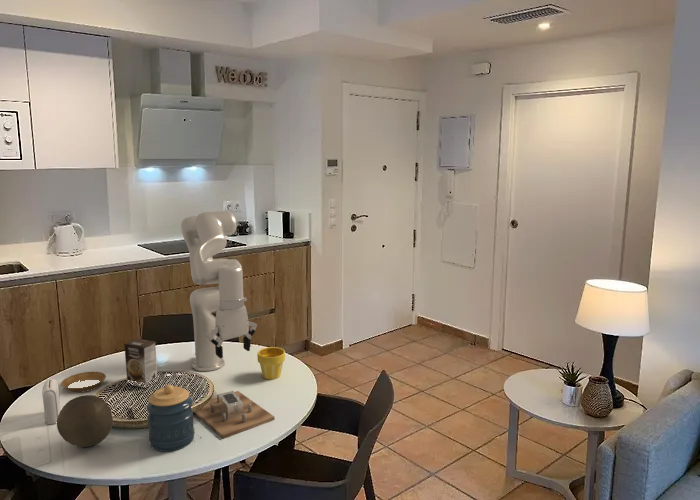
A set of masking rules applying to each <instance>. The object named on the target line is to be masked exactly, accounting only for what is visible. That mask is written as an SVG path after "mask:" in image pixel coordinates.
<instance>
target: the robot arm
mask: <svg viewBox="0 0 700 500" xmlns="http://www.w3.org/2000/svg"><path fill="white" fill-rule="evenodd" d="M237 224H238V223H237V219H236V217H235V215H234V214H233V212H231V211H228V210H218V211H214V210H213V211H205V212H201V213H199V214H197V215H192V216H188V217H185V218H183V219H182V221H181V224H180V228H181V234H182V237H183V240H184V241H185V244H186V246H187V249H188V253H189V264H190V265H189V266H190V274H191V278H192V282H193V284H194V285H199V286H200V285H201V286H202V285H215V284H218V286H212V287H211V286H208V287H202V288H198V289H195V290H193V291H192V292H191V293H190V295H189V304H190V309H191V314H192V320H193V333H194V334H193V335H194V336H193V337H194V355H195V360H194V361H193V362H192V363H191V367H192V369H193V370H195V371H199V372H212V371H216V370H219V369H221V368H222V367H224V365H225V364H226V362H225V359H224V354H223V353H224V352H223V346H222V345H223V343H224V341H227V340H232V339H235V338H240V337H243V339H242V342H243V346H242V347H243V350H245V351H247V352H251V351H250V350H251V346H252V345H251V340H252V338H253V335H254V334H255V332H256V330H257V327H258V324H257V323H256V322H252V321H249V316H248V311H247V307H246V305H245V302H247V301H248V298H247V296H244V278H243V277H244V273H243V267H242V264H241V263H240V261H239V260H237V259H232V258H230V259H228V258H213V256H215V255H218V254H219V253H221V252H222V251H224V250H225V248H226V246H227V244H228V242H227V237H226V236H230V235H232V234H234V233H235V232H236V231H237ZM214 312H216V313H215V315H214V314H213V313H214ZM249 328H250V329H249Z"/></svg>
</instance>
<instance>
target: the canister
mask: <svg viewBox="0 0 700 500" xmlns="http://www.w3.org/2000/svg"><path fill="white" fill-rule="evenodd" d="M148 401H149V402H147V403H148V404H147V406H146V409H147V411H148V412H149V414H148V416H146V420H147V423H148V425H147V426H148V427H147V428H148V442H149V446H150V447H151V448H152V449H153V450H156V451H158V452H173V451H177V450H180V449H183V448H185V447H186V446H187V447H188V445H190V444H191V443H193V440H194V438H195V434H196V433H195V426H194V413H193V409H192V408H191V406H193V402H194V401H193V398H192V397H191V396H190V392H189V391H188V390H187V389H186V388H183V387H181V386H173V385H172V384H166V385H165V386H164V387H161V388H159V389H157V390H155V392H153V393H151V395H150V396H149V397H148Z"/></svg>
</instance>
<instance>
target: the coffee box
mask: <svg viewBox="0 0 700 500" xmlns="http://www.w3.org/2000/svg"><path fill="white" fill-rule="evenodd" d="M124 355H125V367H126V368H125V369H126V371H125V372H126V380H127V379H128V380H132V381H137V382H144V383H146V382H148V381H150V380H152V379H154V378H155V377H157V378H158V368H157V367H158V366H157V365H158V362H157V350H156V341H153V340H147V339H143V338H134V339H131V340H129V341H127V342H125V343H124Z"/></svg>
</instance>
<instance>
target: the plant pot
mask: <svg viewBox="0 0 700 500" xmlns="http://www.w3.org/2000/svg"><path fill="white" fill-rule="evenodd" d="M285 360H286V351H285V349H283V348H282V347H276V346H269V347H264V348H263V347H262V348H261V349H259V350H258V351H257V362H258V363H259V365H260V370H261V374H262V375H261V376H262V378H264V379H265V380H277V379H279V378H280V377H281V375H282V368H283V364H284V362H285Z"/></svg>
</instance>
